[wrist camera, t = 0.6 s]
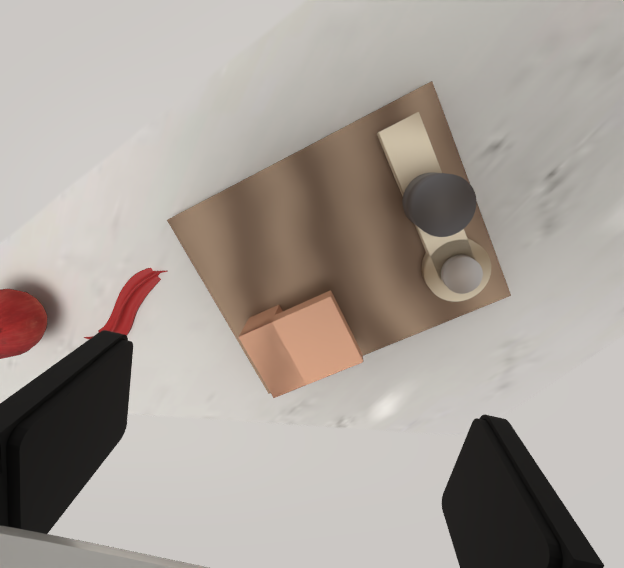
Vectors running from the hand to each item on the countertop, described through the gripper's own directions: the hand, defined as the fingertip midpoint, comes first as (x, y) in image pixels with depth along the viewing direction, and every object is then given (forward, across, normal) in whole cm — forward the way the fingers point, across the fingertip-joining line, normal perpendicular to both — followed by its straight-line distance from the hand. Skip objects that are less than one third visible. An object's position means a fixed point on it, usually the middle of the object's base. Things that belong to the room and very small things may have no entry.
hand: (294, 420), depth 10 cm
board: (+24, -2, +1) cm, 24 cm away
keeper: (+23, 0, +8) cm, 24 cm away
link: (+22, -8, -5) cm, 24 cm away
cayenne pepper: (+25, +16, +10) cm, 32 cm away
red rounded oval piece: (+24, +25, +12) cm, 37 cm away
